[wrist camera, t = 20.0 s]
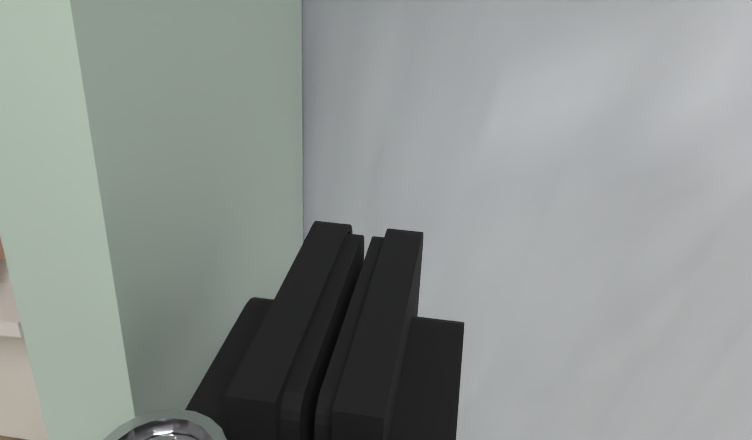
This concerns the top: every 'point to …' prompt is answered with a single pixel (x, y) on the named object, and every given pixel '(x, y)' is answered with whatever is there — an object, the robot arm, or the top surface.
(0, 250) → the block
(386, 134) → the top surface
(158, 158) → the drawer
